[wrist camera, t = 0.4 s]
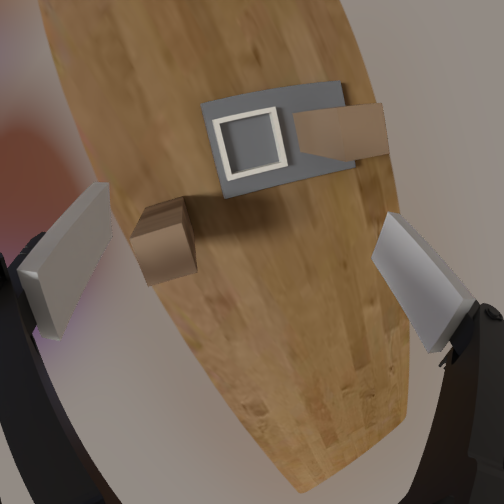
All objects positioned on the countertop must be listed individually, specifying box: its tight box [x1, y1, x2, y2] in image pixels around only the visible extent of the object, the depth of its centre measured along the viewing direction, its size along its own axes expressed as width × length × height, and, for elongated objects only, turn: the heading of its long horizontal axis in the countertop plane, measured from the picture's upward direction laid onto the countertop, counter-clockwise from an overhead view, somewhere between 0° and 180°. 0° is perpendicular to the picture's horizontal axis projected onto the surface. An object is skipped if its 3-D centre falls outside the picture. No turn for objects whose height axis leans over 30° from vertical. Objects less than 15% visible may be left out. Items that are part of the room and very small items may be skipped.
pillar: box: [130, 196, 197, 286], centre depth 33 cm, size 5×5×12 cm
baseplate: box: [201, 81, 390, 199], centre depth 31 cm, size 12×18×14 cm, turn 103°
